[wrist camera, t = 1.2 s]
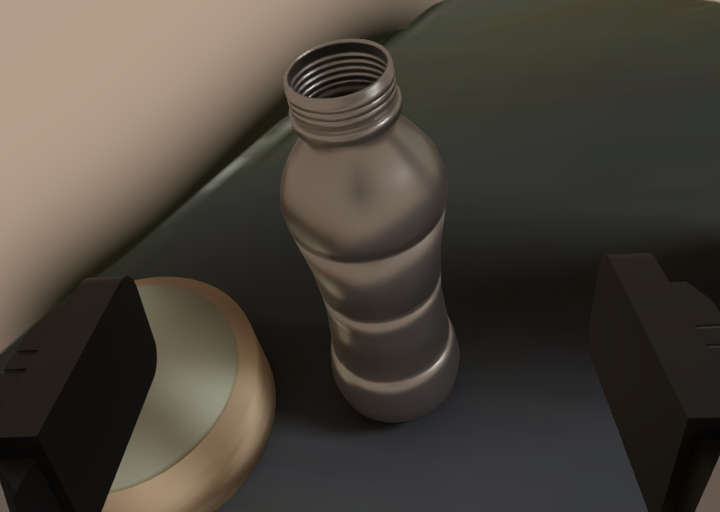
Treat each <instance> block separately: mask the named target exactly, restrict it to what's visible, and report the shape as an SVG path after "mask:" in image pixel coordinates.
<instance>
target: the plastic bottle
mask: <svg viewBox="0 0 720 512" xmlns="http://www.w3.org/2000/svg"><path fill="white" fill-rule="evenodd" d="M283 87H284V90H285V94H286V97H287V100H288V104H289V107H290V108H289V117H290V120H291V124H292V127H293V130H294V132H295V133H296V135H297V136H298V137H299V138H298V140H297V141H296V143H295V145H294V146H293V148H292V150H291V153H290V155H289V158H288V160H287V162H286V165H285V168H284V170H283V173H282V177H281V193H280V207H281V211H282V215H283V217H284V219H285V222H286V224H287V227H288V229H289V231H290V233H291V234H292V236H293V238H294V240H295V242H296V243H297V245H298V247H299V249H300V251H301V252H302V254H303V256H304V258H305V260H306V262H307V263H308V265H309V267H310V269H311V271H312V272H313V275H314V277H315V280H316V283H317V285H318V288H319V290H320V293H321V295H322V297H323V301H324V303H325V306H326V308H327V314H328V320H329V327H330V333H331V363H332V372H333V376H334V380H335V382H336V384H337V386H338V388H339V390H340V391H341V393H342V394H343V396H344V397H345V398H346V400H347V401H348V402H349V403H350V405H351V406H352V407H353V408H354V409H355V410H357V411H358V412H359V413H361V414H362V415H364V416H366V417H368V418H371V419H373V420H377V421H382V422H392V423H398V422H405V421H410V420H414V419H417V418H420V417H422V416H424V415H426V414H428V413H430V412H431V411H433V410H434V409H435V408H436V407H438V406H439V405H440V404H441V403H442V402H443V401H444V400H445V398H446V397H447V396H448V394H449V393H450V391H451V389H452V387H453V385H454V381H455V378H456V374H457V370H458V366H459V359H460V351H459V345H458V341H457V338H456V334H455V331H454V328H453V326H452V323H451V321H450V319H449V317H448V315H447V310H446V306H445V301H444V297H443V292H442V288H441V240H442V232H443V224H444V217H445V208H446V202H447V182H448V177H447V172H446V167H445V165H444V163H443V161H442V158H441V156H440V154H439V152H438V150H437V148H436V146H435V145H434V143H433V141H432V140H431V139H430V138H429V137H428V136H427V135H426V134H425V133H424V132H423V131H421V130H420V129H419V128H418V127H417V126H416V125H415V124H414V123H413V122H411V121H410V120H409V119H407V118H406V117H404V116H403V115H401V112H402V106H403V105H402V98H401V92H400V88H399V86H398V85H397V83H396V79H395V72H394V65H393V60H392V59H391V55H390V53H389V51H388V50H387V49H386V48H385V47H383V46H382V45H380V44H378V43H376V42H372V41H369V40H363V39H341V40H335V41H330V42H326V43H323V44H320V45H317V46H314V47H312V48H310V49H308V50H306V51H304V52H302V53H301V54H299V55H298V56H297V57H295V58H294V59H293V60H292V61H291V62H290V63H289V64H288V66H287V67H286V69H285V71H284V74H283Z"/></svg>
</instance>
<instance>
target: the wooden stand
mask: <svg viewBox="0 0 720 512" xmlns="http://www.w3.org/2000/svg"><path fill="white" fill-rule="evenodd" d="M134 282H135V284H136V286H137V289H138V292H139V295H140V298H141V301H142V304H143V307H144V310H145V313H146V316H147V319H148V322H149V325H150V328H151V331H152V334H153V337H154V340H155V343H156V349H157V367H156V373H155V376H154V379H153V382H152V384H151V387H150V389H149V392H148V395H147V397H146V400H145V402H144V405H143V407H142V410H141V412H140V415H139V418H138V420H137V423H136V425H135V428H134V430H133V433H132V435H131V438H130V440H129V443H128V446H127V448H126V451H125V453H124V456H123V458H122V461H121V463H120V466H119V469H118V471H117V474H116V476H115V479H114V481H113V484H112V486H111V489H110V491H109V494H108V497H107V499H106V502H105V504H104V507H103V509H102V512H214V511H216V510H217V509H218V508H219V507H221V506H222V505H223V504H224V503H225V502H226V501H227V500H228V499H229V498H230V497H231V496H232V495H233V494H234V493H235V492H236V491H237V490H238V489H239V488H240V486H241V485H242V484H243V483H244V482H245V481H246V479H247V478H248V476H249V475H250V473H251V472H252V471H253V469H254V468H255V466H256V464H257V463H258V461H259V459H260V457H261V455H262V453H263V452H264V449H265V447H266V444H267V442H268V439H269V437H270V434H271V430H272V426H273V423H274V418H275V410H276V388H275V382H274V376H273V373H272V371H271V368H270V365H269V362H268V360H267V358H266V356H265V354H264V352H263V350H262V348H261V345H260V343H259V341H258V339H257V337H256V335H255V333H254V330H253V328H252V326H251V324H250V322H249V320H248V319H247V317H246V315H245V313H244V312H243V310H242V309H241V308H240V307H239V305H238V304H237V303H236V302H235V301H234V300H233V299H231V298H230V297H229V296H228V295H227V294H225V293H224V292H222V291H221V290H219V289H217V288H216V287H213V286H211V285H209V284H207V283H204V282H200V281H197V280H193V279H188V278H181V277H153V278H145V279H139V280H134Z"/></svg>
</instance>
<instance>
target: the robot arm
mask: <svg viewBox="0 0 720 512" xmlns="http://www.w3.org/2000/svg"><path fill="white" fill-rule="evenodd" d="M589 344H590V351H591V356H592V360H593V363H594V366H595V369H596V371H597V374H598V377H599V380H600V382H601V385H602V388H603V390H604V393H605V396H606V398H607V401H608V404H609V407H610V409H611V412H612V415H613V417H614V420H615V423H616V425H617V428H618V431H619V433H620V436H621V439H622V442H623V444H624V447H625V450H626V452H627V455H628V458H629V460H630V463H631V466H632V469H633V471H634V474H635V477H636V479H637V482H638V485H639V487H640V490H641V493H642V495H643V498H644V501H645V504H646V506H647V509H648V512H720V312H719V310H718V309H717V307H716V306H715V304H714V303H713V301H712V300H711V299H709V298H708V297H707V296H705V295H704V294H703V293H701V292H700V291H698V290H697V289H696V288H694V287H693V286H692V285H690V284H689V283H688V282H686V281H682V282H669V280H668V279H667V277H666V275H665V274H664V272H663V270H662V268H661V267H660V265H659V263H658V262H657V260H656V258H655V257H654V255H652V254H651V253H632V254H611V255H603V256H602V257H601V259H600V261H599V265H598V271H597V278H596V285H595V291H594V298H593V305H592V311H591V318H590V325H589ZM156 367H157V349H156V343H155V340H154V337H153V334H152V331H151V328H150V325H149V322H148V319H147V316H146V313H145V310H144V307H143V304H142V301H141V298H140V295H139V292H138V289H137V286H136V284H135V282H134V280H133V279H132V278H131V277H129V276H122V277H101V278H86V279H84V280H83V281H81V283H80V284H79V286H78V287H77V289H76V291H75V292H74V294H73V295H72V297H71V299H70V300H69V302H68V304H67V305H66V307H65V308H55V309H54V310H53V311H52V312H51V313H49V314H48V315H47V316H46V317H44V318H43V319H42V320H41V321H40V322H38V323H37V324H36V325H35V326H34V327H32V328H31V330H30V331H29V333H28V334H27V336H26V337H25V339H24V340H23V342H22V343H21V345H20V346H19V348H18V349H17V355H13V357H12V358H11V360H10V362H9V363H8V365H7V366H6V368H5V369H4V370H5V373H4V374H1V375H0V512H102V509H103V507H104V504H105V502H106V499H107V497H108V494H109V491H110V489H111V486H112V484H113V481H114V479H115V476H116V474H117V471H118V469H119V466H120V463H121V461H122V458H123V456H124V453H125V451H126V448H127V446H128V443H129V440H130V438H131V435H132V433H133V430H134V428H135V425H136V423H137V420H138V418H139V415H140V412H141V410H142V407H143V405H144V402H145V400H146V397H147V395H148V392H149V389H150V387H151V384H152V382H153V379H154V376H155V373H156Z"/></svg>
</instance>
